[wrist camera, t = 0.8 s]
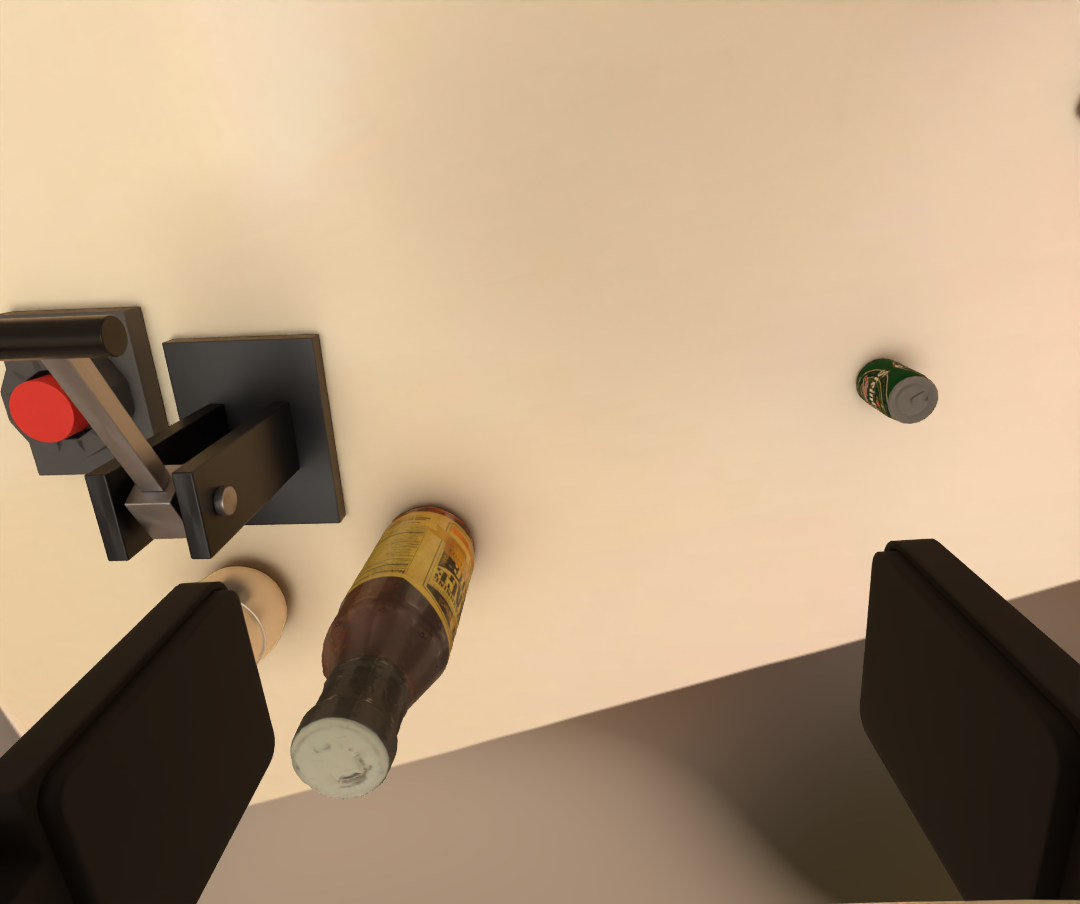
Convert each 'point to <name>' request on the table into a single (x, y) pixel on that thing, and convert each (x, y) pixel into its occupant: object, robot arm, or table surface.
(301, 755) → the sauce bottle
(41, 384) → the button
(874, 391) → the beer can
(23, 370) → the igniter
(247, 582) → the plastic bottle
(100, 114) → the table surface
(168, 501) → the lever
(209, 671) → the robot arm
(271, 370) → the bracket
